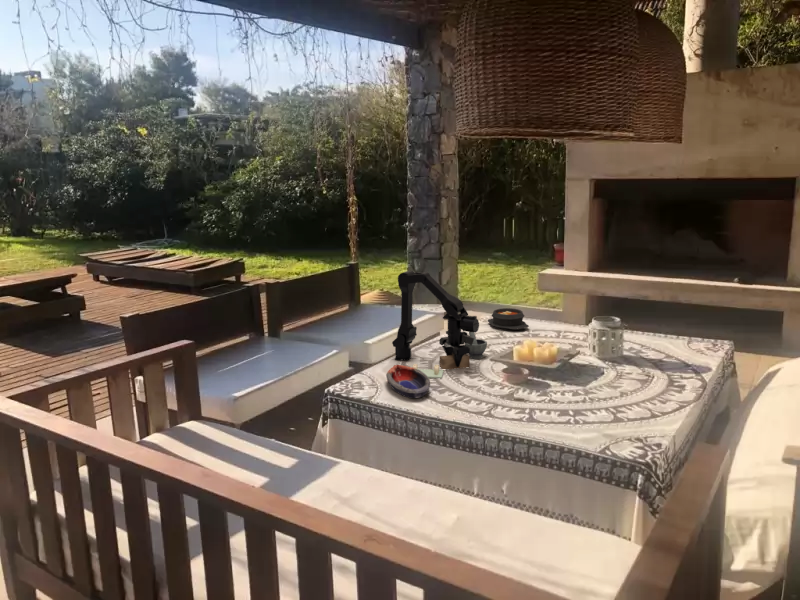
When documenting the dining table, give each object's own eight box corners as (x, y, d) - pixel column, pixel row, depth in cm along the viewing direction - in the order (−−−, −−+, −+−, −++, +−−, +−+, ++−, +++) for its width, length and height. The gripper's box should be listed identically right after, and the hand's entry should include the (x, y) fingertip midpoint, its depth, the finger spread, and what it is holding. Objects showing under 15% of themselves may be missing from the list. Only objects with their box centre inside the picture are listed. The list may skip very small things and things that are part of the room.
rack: (407, 377, 265) (407, 368, 264) (410, 370, 273) (410, 362, 272) (441, 378, 262) (441, 369, 262) (443, 371, 271) (443, 363, 270)
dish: (398, 404, 237) (397, 391, 236) (380, 376, 266) (380, 364, 265) (438, 399, 240) (438, 386, 239) (417, 372, 269) (416, 360, 268)
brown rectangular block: (442, 370, 273) (442, 359, 272) (439, 367, 277) (439, 356, 276) (469, 367, 276) (469, 356, 275) (466, 364, 280) (466, 353, 279)
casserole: (537, 329, 333) (537, 313, 331) (508, 334, 324) (508, 318, 323) (507, 319, 355) (507, 304, 353) (479, 324, 346) (479, 309, 344)
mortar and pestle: (490, 358, 287) (490, 332, 284) (471, 361, 284) (471, 334, 281) (479, 351, 297) (479, 326, 295) (460, 354, 294) (460, 328, 292)
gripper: (481, 332, 267) (481, 368, 271) (461, 322, 284) (461, 356, 288) (457, 335, 263) (457, 372, 267) (438, 325, 280) (439, 359, 284)
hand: (454, 364), depth 276 cm, fingers open, 6 cm apart
